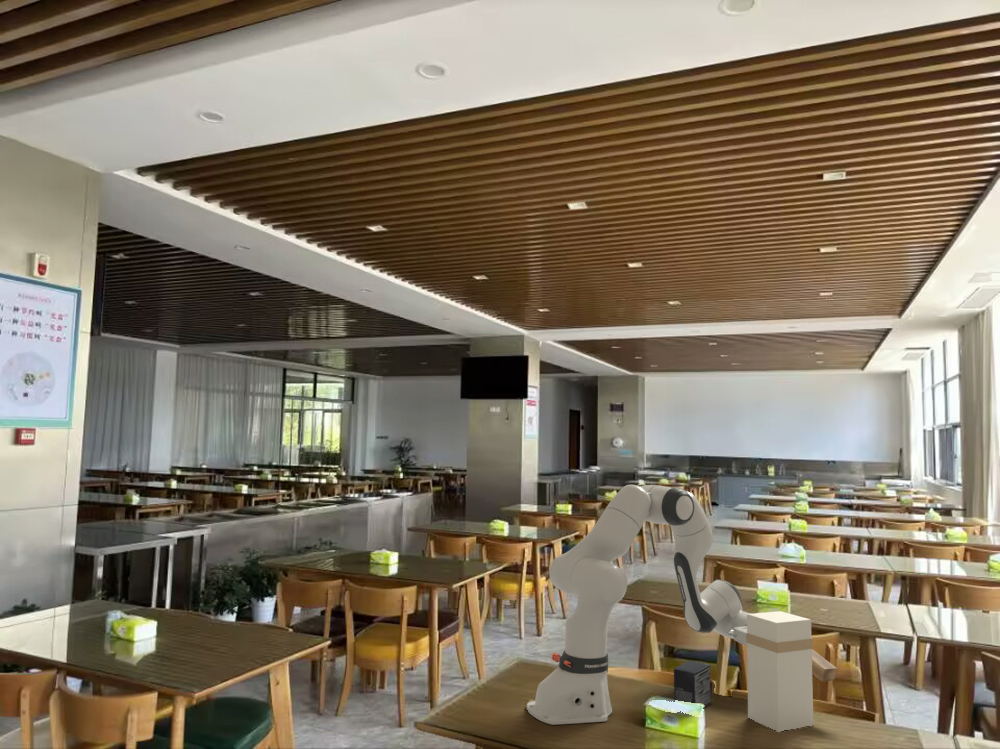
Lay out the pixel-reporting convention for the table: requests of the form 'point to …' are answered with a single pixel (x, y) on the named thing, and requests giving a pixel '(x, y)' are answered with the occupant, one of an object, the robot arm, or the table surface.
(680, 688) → the small box
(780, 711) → the carton
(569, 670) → the robot arm
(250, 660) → the table surface
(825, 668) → the flap bar
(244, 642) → the table surface
